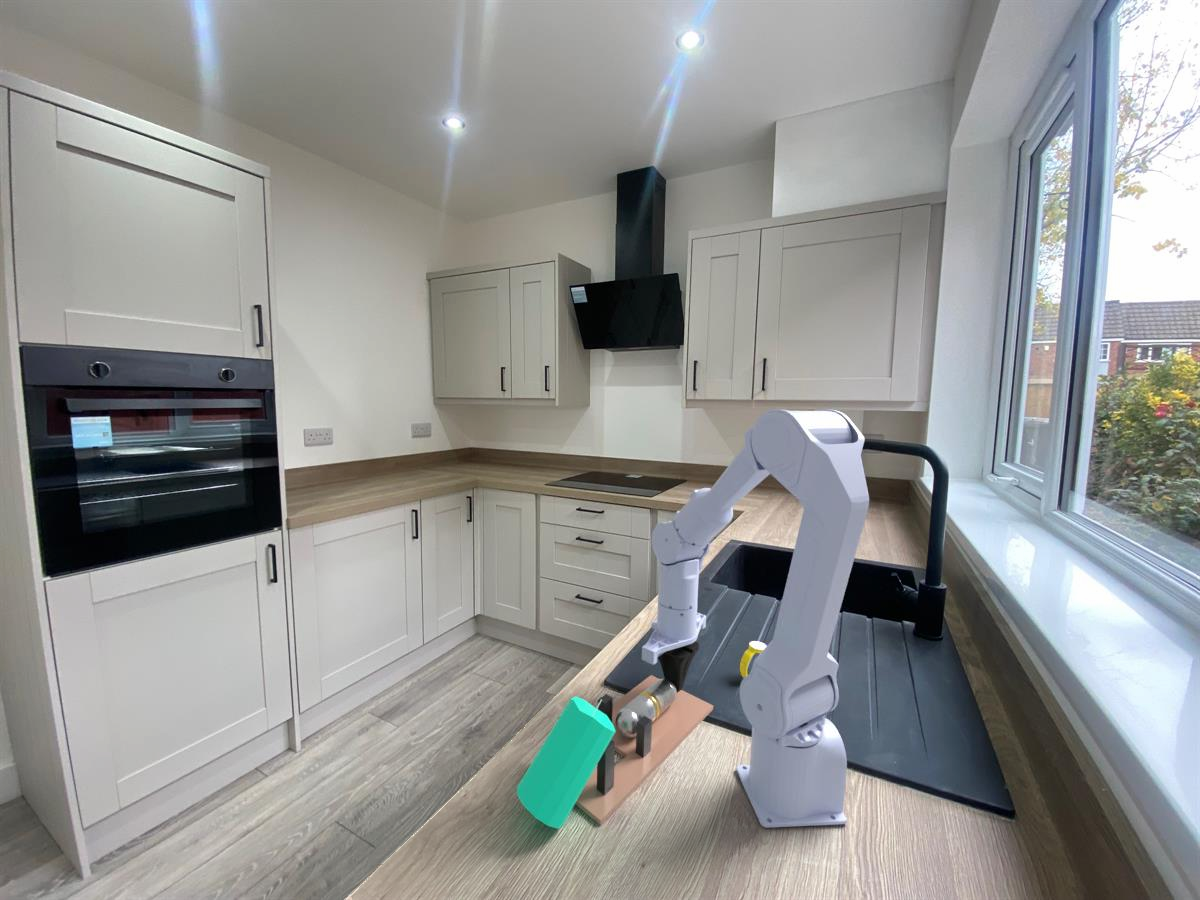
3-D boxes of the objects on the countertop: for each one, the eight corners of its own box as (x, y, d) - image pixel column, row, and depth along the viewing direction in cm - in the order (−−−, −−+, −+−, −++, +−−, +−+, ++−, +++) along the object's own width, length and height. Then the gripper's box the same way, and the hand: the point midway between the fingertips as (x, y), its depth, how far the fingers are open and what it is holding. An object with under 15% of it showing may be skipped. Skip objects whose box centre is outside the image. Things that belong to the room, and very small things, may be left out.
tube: (660, 693, 70) (660, 670, 70) (681, 703, 68) (682, 680, 67) (609, 735, 61) (610, 709, 61) (631, 749, 59) (632, 722, 58)
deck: (651, 678, 75) (651, 674, 75) (713, 709, 68) (713, 705, 68) (532, 769, 56) (532, 764, 56) (600, 825, 49) (600, 820, 49)
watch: (761, 672, 78) (765, 638, 77) (774, 681, 75) (779, 646, 75) (734, 678, 75) (738, 643, 75) (747, 688, 73) (751, 652, 72)
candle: (537, 786, 53) (595, 688, 56) (572, 828, 49) (632, 720, 52) (506, 783, 49) (570, 678, 52) (542, 829, 45) (609, 712, 48)
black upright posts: (605, 722, 64) (606, 684, 63) (650, 750, 59) (652, 709, 58) (557, 760, 57) (558, 717, 56) (604, 795, 52) (605, 749, 51)
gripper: (680, 580, 76) (677, 658, 78) (625, 609, 65) (622, 699, 67) (719, 592, 71) (715, 675, 73) (667, 626, 61) (664, 722, 62)
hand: (673, 688), depth 70 cm, fingers closed
